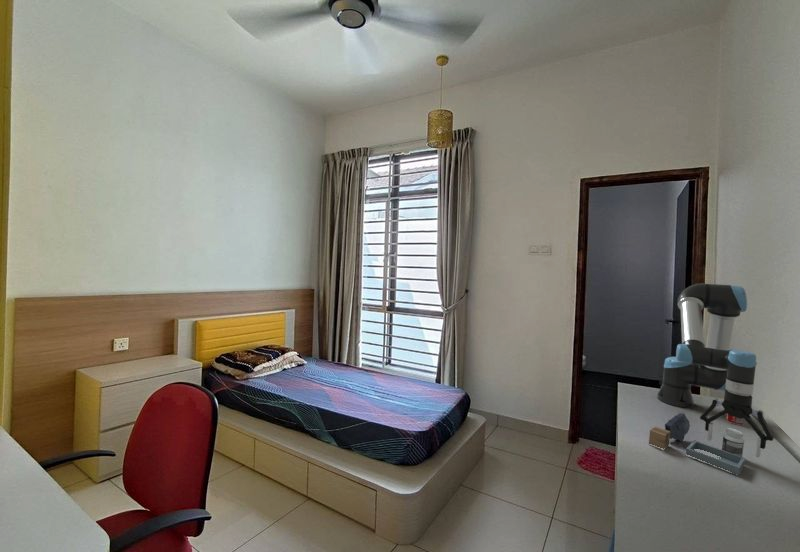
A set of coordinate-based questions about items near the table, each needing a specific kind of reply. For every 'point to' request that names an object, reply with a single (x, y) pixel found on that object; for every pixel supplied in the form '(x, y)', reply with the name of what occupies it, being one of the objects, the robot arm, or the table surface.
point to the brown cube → (659, 437)
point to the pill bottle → (733, 442)
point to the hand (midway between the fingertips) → (732, 447)
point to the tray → (726, 461)
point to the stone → (678, 427)
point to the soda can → (734, 420)
